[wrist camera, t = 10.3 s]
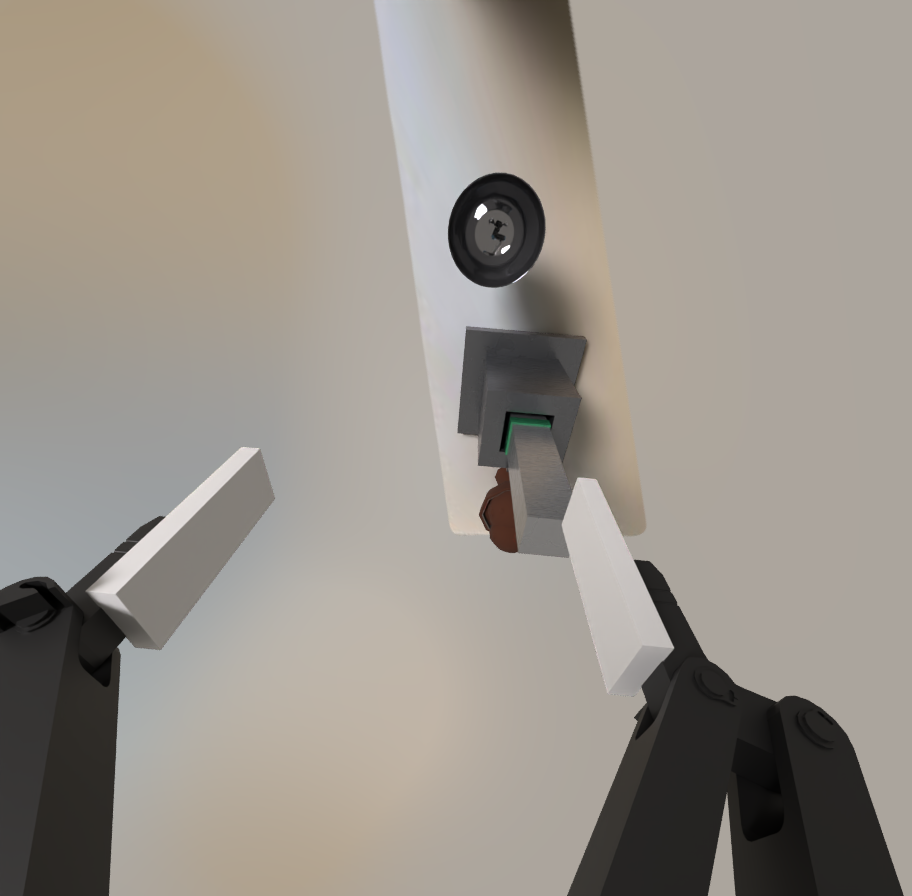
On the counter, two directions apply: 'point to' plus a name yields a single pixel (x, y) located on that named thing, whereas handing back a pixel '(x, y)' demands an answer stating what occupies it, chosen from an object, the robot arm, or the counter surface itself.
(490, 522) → the ice cream bowl
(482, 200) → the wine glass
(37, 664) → the robot arm
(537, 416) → the post
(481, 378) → the stand housing
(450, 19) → the counter surface
